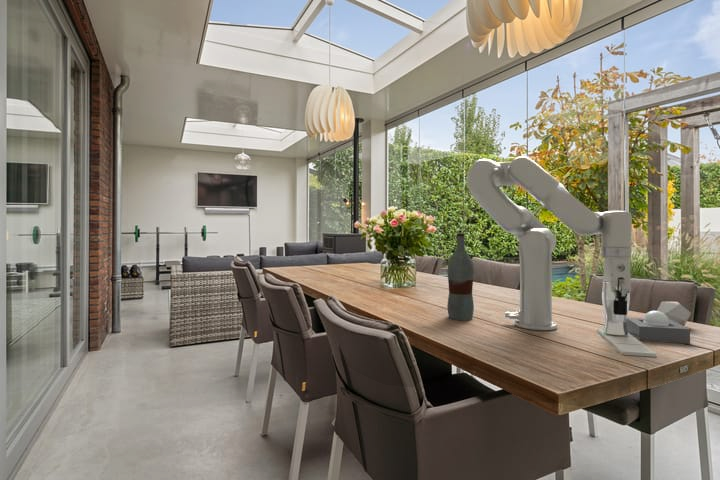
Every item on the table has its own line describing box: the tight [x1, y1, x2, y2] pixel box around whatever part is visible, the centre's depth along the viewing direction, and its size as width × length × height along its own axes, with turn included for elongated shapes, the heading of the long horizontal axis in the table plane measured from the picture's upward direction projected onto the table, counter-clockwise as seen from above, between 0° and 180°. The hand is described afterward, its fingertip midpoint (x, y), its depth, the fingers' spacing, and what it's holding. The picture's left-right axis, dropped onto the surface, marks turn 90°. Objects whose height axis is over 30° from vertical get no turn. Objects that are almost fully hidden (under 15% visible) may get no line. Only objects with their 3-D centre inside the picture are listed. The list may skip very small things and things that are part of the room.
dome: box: [643, 310, 669, 326], centre depth 119 cm, size 6×6×6 cm
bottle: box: [446, 232, 475, 321], centre depth 145 cm, size 9×9×30 cm
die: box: [656, 301, 692, 327], centre depth 132 cm, size 8×9×10 cm
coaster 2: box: [603, 336, 645, 347], centre depth 113 cm, size 8×8×1 cm
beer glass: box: [601, 280, 631, 336], centre depth 120 cm, size 7×7×15 cm
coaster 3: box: [612, 343, 657, 358], centre depth 106 cm, size 8×8×1 cm
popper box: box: [626, 316, 691, 345], centre depth 119 cm, size 12×12×4 cm
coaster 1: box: [596, 328, 634, 338], centre depth 121 cm, size 8×8×1 cm
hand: (615, 311), depth 121 cm, fingers open, 9 cm apart
